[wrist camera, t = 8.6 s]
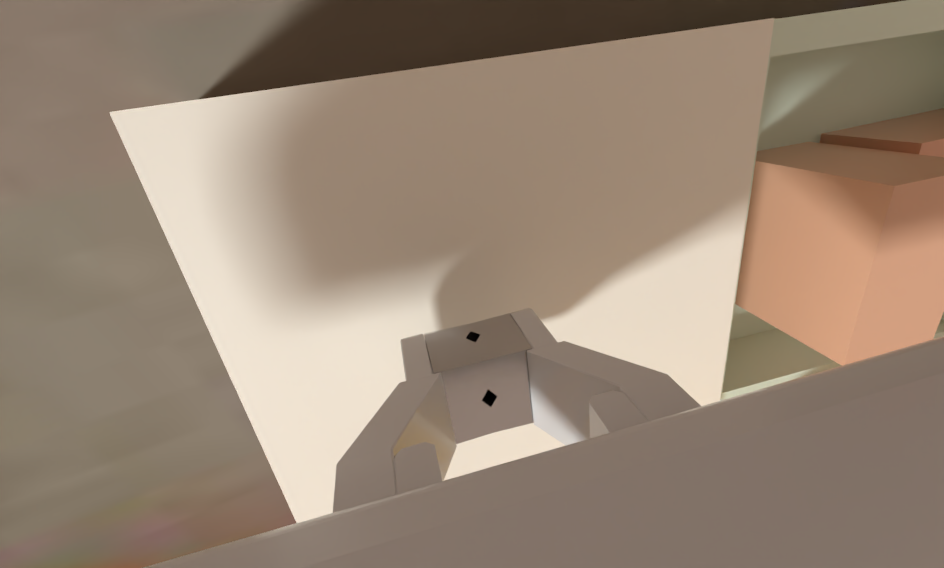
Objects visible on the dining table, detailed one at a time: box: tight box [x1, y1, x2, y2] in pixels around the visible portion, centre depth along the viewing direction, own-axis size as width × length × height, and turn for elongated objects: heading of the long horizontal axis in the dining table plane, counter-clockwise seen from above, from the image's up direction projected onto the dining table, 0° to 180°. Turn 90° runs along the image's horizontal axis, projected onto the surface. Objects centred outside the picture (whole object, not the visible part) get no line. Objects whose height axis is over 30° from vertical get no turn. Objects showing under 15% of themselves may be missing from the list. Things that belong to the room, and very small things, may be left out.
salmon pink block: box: [735, 142, 944, 365], centre depth 13 cm, size 5×5×3 cm
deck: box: [109, 18, 774, 523], centre depth 13 cm, size 12×13×4 cm
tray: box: [720, 0, 944, 401], centre depth 15 cm, size 12×12×3 cm
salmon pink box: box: [820, 108, 944, 157], centre depth 15 cm, size 5×5×3 cm
